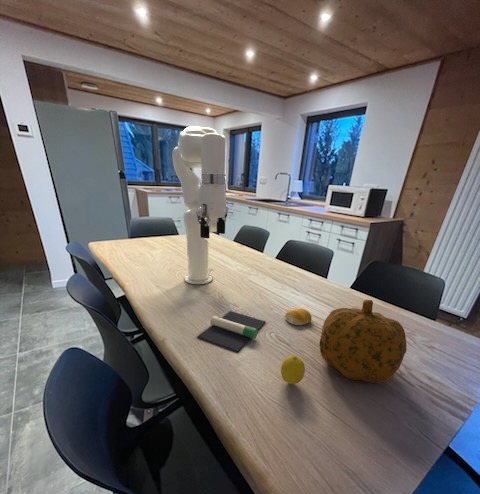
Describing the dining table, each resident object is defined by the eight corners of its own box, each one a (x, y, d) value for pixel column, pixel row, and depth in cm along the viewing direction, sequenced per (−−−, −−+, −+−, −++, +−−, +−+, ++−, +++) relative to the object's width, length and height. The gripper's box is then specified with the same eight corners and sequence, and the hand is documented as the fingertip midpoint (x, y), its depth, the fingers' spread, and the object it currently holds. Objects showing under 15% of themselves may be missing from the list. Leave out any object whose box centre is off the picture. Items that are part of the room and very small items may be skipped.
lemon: (277, 375, 67) (280, 349, 63) (298, 375, 67) (303, 349, 64) (282, 391, 62) (286, 364, 58) (304, 391, 62) (310, 364, 59)
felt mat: (230, 312, 96) (230, 310, 96) (265, 322, 91) (265, 321, 91) (197, 337, 80) (197, 336, 80) (237, 352, 75) (237, 350, 75)
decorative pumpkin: (357, 405, 58) (379, 322, 51) (300, 356, 76) (311, 290, 69) (417, 385, 66) (443, 311, 59) (352, 345, 84) (366, 285, 77)
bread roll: (315, 321, 93) (317, 311, 91) (296, 328, 88) (298, 317, 87) (298, 312, 99) (300, 302, 97) (280, 317, 95) (281, 307, 93)
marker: (213, 325, 88) (209, 324, 85) (216, 316, 88) (212, 314, 85) (255, 339, 81) (252, 338, 78) (258, 329, 82) (255, 328, 79)
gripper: (218, 180, 91) (217, 230, 99) (186, 179, 77) (188, 238, 85) (237, 181, 88) (235, 233, 96) (207, 181, 74) (207, 241, 82)
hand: (213, 235), depth 90 cm, fingers open, 9 cm apart
